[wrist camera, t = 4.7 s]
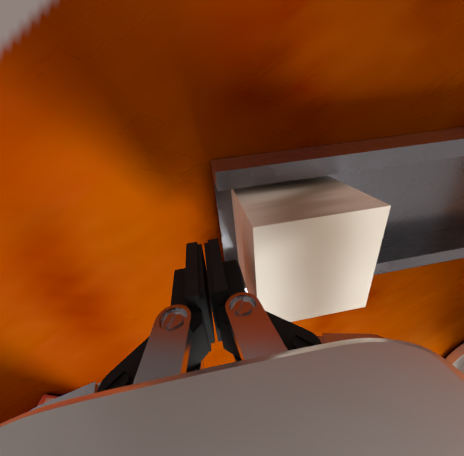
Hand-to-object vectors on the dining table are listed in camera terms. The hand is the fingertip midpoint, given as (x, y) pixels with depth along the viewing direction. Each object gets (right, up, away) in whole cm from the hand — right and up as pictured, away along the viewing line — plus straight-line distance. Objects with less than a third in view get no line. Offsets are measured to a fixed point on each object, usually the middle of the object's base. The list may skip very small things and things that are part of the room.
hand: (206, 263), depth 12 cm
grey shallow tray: (+11, +4, +5) cm, 13 cm away
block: (+4, +3, +4) cm, 7 cm away
